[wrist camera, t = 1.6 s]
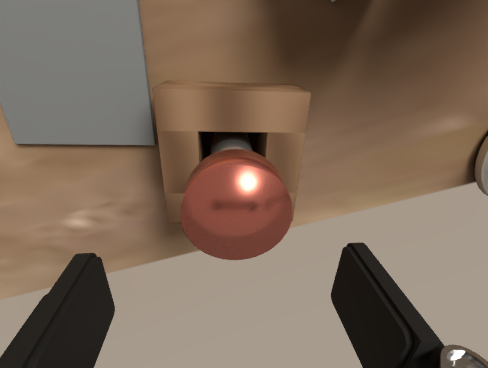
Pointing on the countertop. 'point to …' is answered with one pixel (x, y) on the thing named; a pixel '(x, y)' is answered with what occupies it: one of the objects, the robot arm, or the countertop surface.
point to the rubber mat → (74, 72)
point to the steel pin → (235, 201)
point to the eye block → (227, 128)
